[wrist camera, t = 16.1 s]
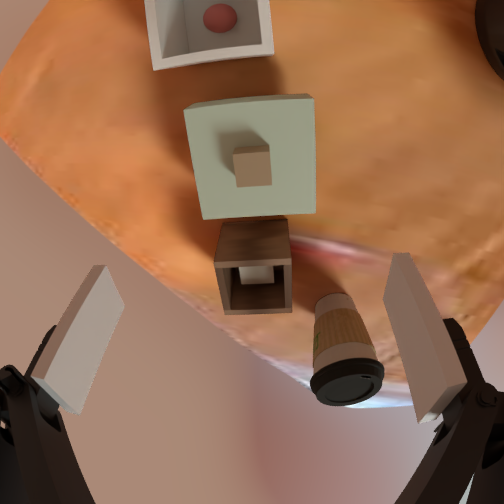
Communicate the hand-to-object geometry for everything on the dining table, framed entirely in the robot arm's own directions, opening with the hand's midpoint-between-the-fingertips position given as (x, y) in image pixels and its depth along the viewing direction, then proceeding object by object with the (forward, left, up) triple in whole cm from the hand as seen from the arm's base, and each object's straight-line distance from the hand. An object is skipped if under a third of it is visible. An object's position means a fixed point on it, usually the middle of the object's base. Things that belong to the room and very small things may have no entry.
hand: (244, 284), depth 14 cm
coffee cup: (-10, +26, -23) cm, 36 cm away
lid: (0, 0, -20) cm, 20 cm away
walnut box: (+1, +14, -23) cm, 27 cm away
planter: (+2, -14, -23) cm, 27 cm away
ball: (+2, -14, -22) cm, 26 cm away
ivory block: (+1, +14, -22) cm, 26 cm away
